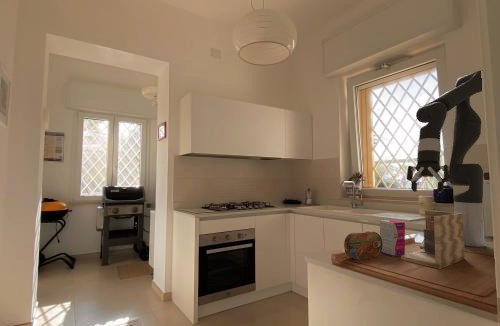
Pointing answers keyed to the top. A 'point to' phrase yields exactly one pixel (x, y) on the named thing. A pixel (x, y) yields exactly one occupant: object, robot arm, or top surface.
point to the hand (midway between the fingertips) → (426, 192)
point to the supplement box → (392, 237)
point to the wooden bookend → (440, 240)
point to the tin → (363, 245)
